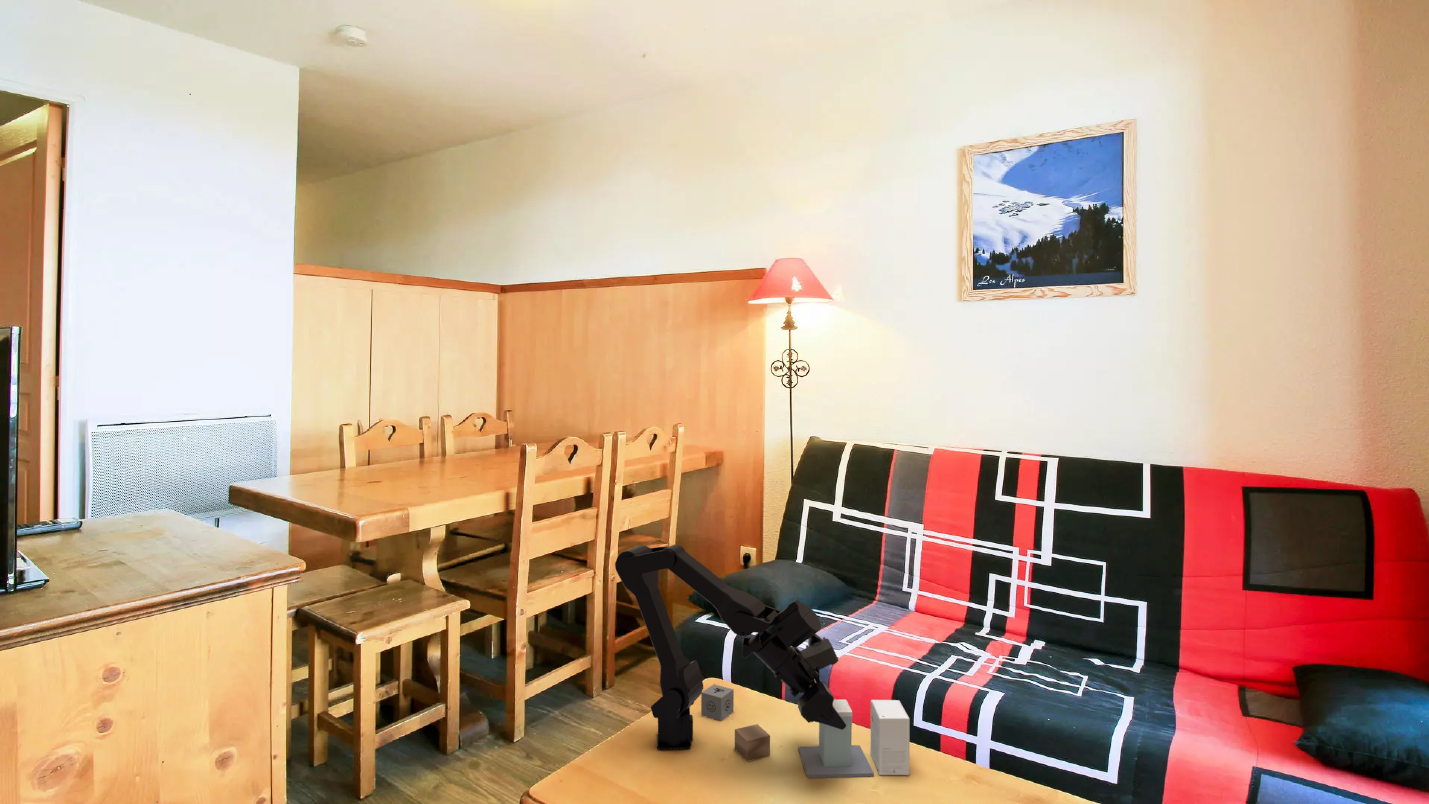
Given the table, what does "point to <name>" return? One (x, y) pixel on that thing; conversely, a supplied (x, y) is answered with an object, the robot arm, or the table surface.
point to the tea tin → (836, 738)
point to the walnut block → (752, 742)
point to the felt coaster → (818, 770)
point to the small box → (890, 737)
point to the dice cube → (717, 702)
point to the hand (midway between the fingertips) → (838, 715)
